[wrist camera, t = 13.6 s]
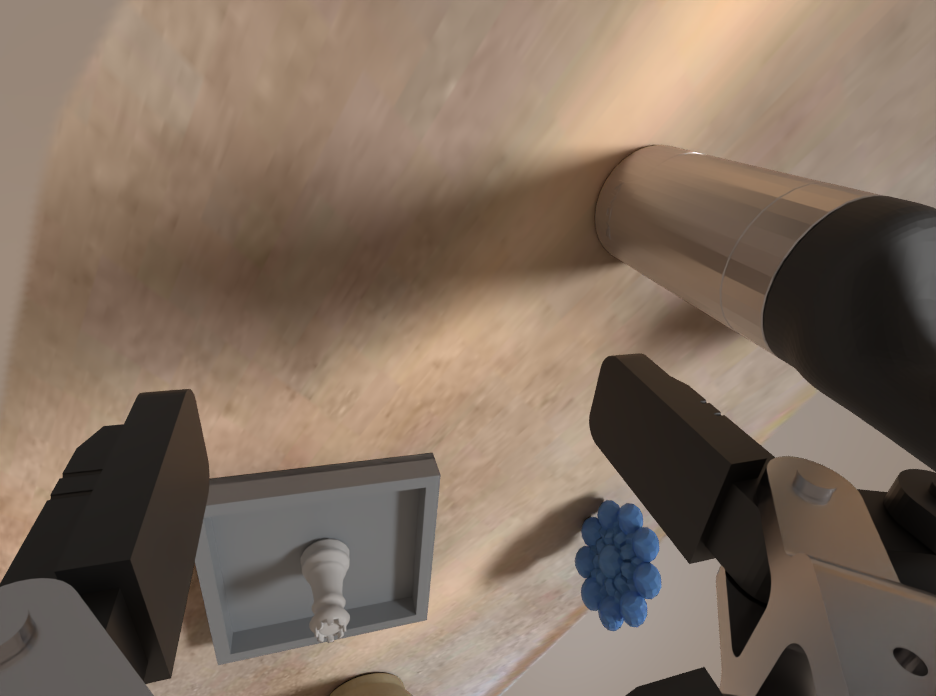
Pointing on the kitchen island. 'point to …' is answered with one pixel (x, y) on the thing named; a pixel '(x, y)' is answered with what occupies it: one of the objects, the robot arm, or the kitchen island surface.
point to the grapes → (618, 565)
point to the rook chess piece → (327, 586)
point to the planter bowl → (372, 686)
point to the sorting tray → (298, 526)
